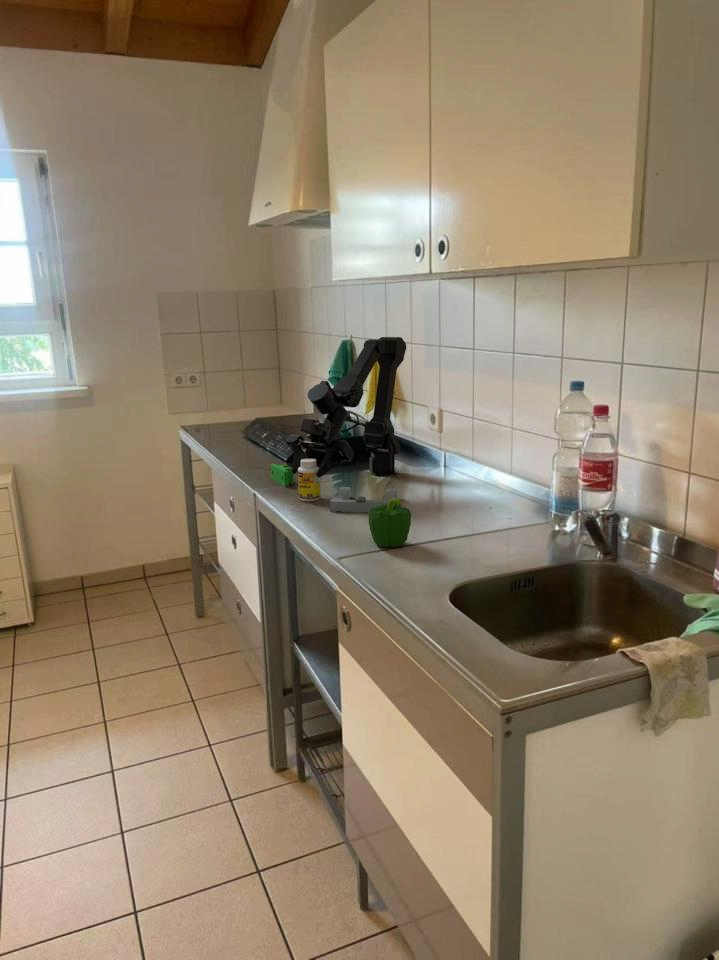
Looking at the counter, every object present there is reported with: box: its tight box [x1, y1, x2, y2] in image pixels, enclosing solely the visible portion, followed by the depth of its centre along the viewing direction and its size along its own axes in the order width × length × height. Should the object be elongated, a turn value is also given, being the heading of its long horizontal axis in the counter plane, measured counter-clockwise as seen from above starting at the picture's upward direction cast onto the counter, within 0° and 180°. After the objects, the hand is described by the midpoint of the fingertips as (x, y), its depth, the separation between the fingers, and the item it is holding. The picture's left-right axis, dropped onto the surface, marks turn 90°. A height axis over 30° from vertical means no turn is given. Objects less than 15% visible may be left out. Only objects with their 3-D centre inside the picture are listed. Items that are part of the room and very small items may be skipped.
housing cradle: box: [329, 486, 398, 513], centre depth 178 cm, size 14×14×3 cm
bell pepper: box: [367, 498, 412, 548], centre depth 147 cm, size 8×8×10 cm
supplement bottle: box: [297, 458, 321, 502], centre depth 184 cm, size 6×6×10 cm
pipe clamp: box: [270, 463, 295, 487], centre depth 203 cm, size 11×4×5 cm, turn 26°
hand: (305, 474), depth 182 cm, fingers open, 8 cm apart
